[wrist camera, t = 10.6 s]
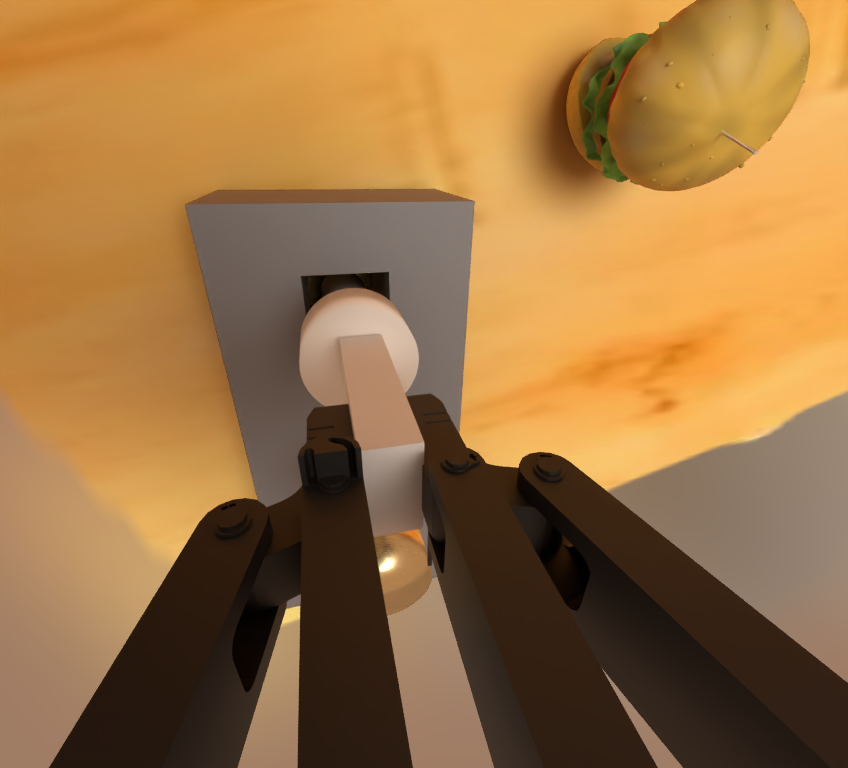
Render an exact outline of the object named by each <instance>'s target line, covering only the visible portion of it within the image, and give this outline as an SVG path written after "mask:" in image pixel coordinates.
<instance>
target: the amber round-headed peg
mask: <svg viewBox="0 0 848 768" xmlns="http://www.w3.org/2000/svg"><path fill="white" fill-rule="evenodd" d="M374 543H375V548H376V554H377V560H378V566H379V572H380V578H381V584H382V590H383V595H384V601H385V607H386V613H387V615H391V614H394V613H397V612H399V611H401V610H403V609H405V608H407V607H409V606H410V605H412V604H414V603H415V602H416V601H417V600H419V599H420V598H421V597H422V596H423V595H424V593H425V592H426V590H427V589H428V588H429V586H430V583H431V580H432V569H431V566H428V565H427V552H426V549H425V545H424V542H423V539H422V535H421V532H420V529H416V530H411V531H405V532H399V533H394V534H388V535H383V536H377V537H374Z"/></svg>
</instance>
